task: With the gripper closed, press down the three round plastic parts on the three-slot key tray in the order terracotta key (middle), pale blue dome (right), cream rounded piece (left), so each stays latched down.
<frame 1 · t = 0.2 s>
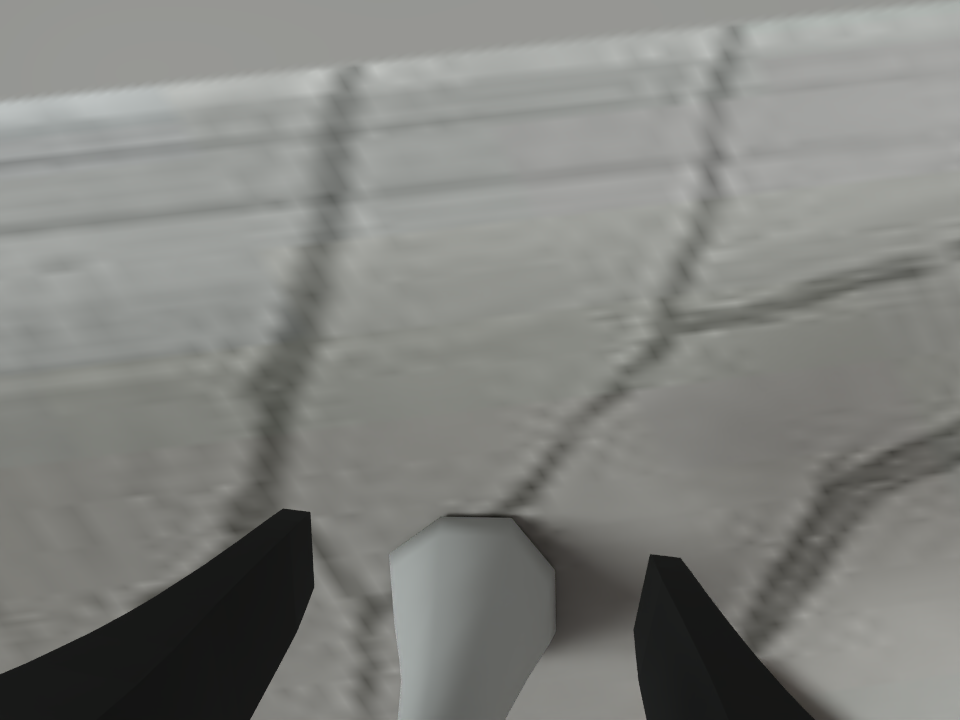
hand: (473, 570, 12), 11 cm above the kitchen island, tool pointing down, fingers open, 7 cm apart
flask: (473, 586, 24), on the kitchen island
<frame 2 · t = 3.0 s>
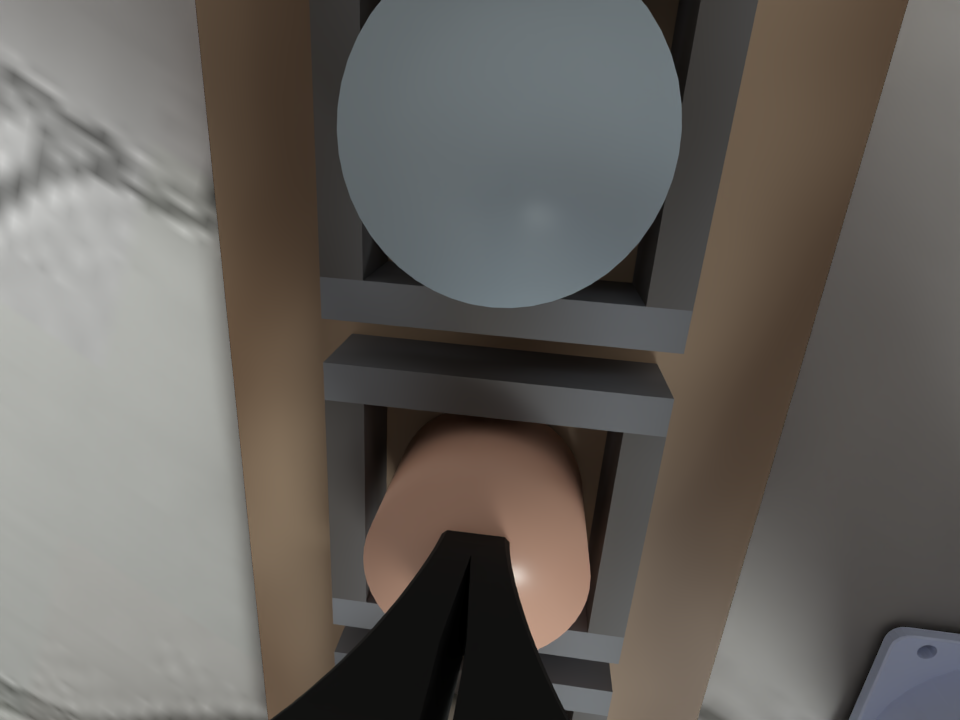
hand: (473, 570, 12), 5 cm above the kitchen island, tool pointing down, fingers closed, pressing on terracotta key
three-slot key tray: (494, 455, 16), on the kitchen island
pale blue dome: (510, 141, 9), point 4 cm above the kitchen island, slide at 0.0 cm
terracotta key: (482, 525, 13), point 3 cm above the kitchen island, slide at -1.0 cm, touching gripper
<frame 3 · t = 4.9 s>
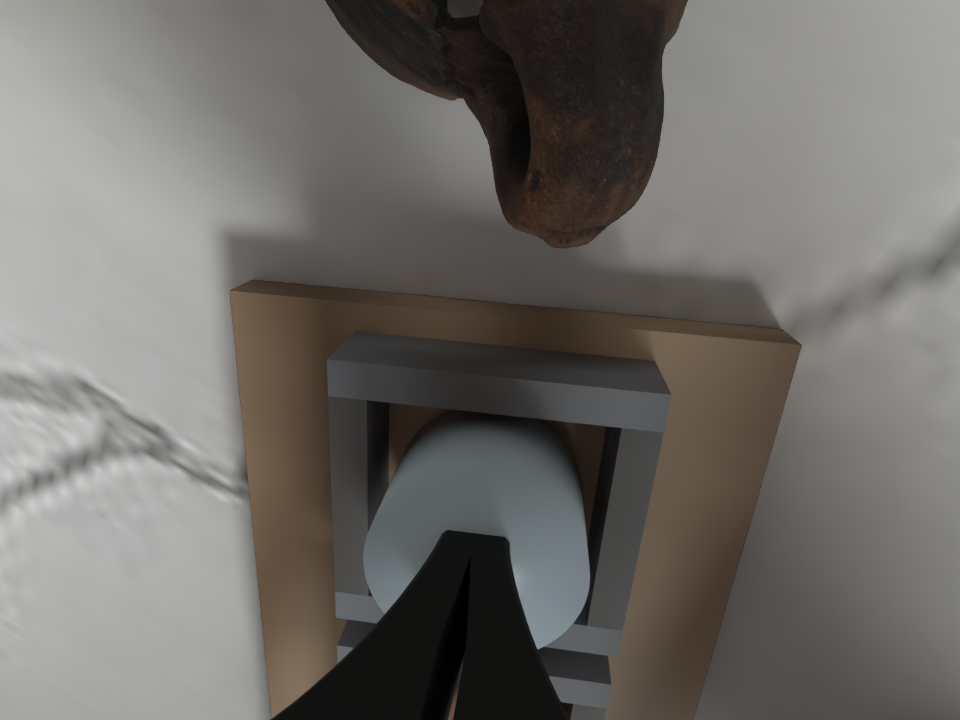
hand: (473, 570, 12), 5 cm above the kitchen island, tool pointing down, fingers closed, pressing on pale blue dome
three-slot key tray: (476, 665, 20), on the kitchen island
pale blue dome: (482, 526, 14), point 3 cm above the kitchen island, slide at -0.8 cm, touching gripper
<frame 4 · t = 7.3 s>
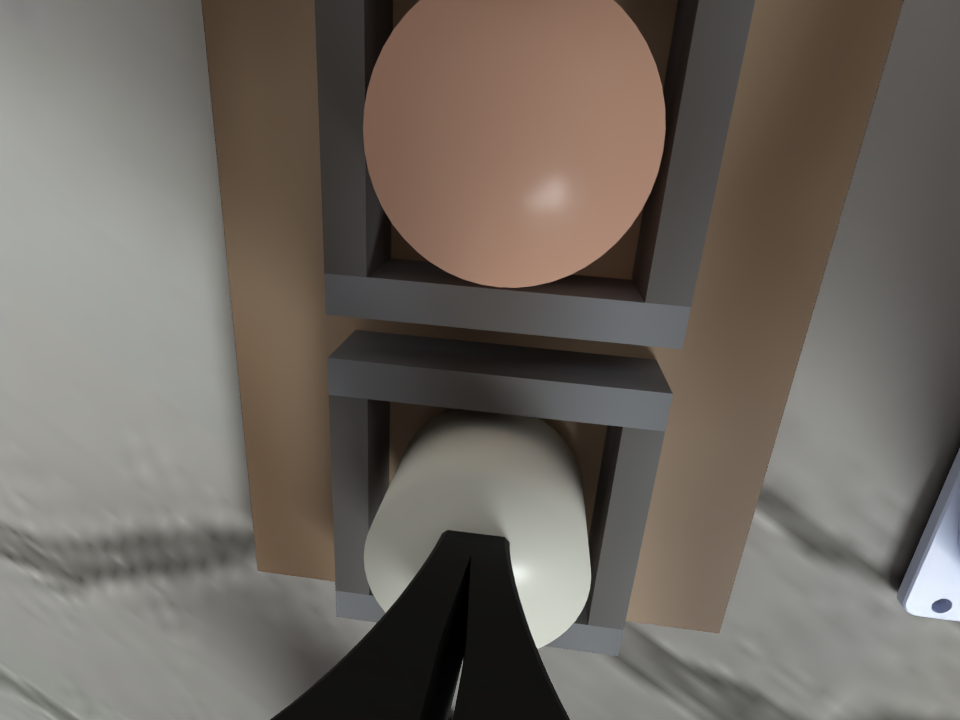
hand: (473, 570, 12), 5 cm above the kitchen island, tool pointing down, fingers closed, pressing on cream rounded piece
three-slot key tray: (522, 139, 14), on the kitchen island
cream rounded piece: (483, 525, 13), point 3 cm above the kitchen island, slide at -0.8 cm, touching gripper
terracotta key: (515, 140, 11), point 3 cm above the kitchen island, slide at -1.0 cm
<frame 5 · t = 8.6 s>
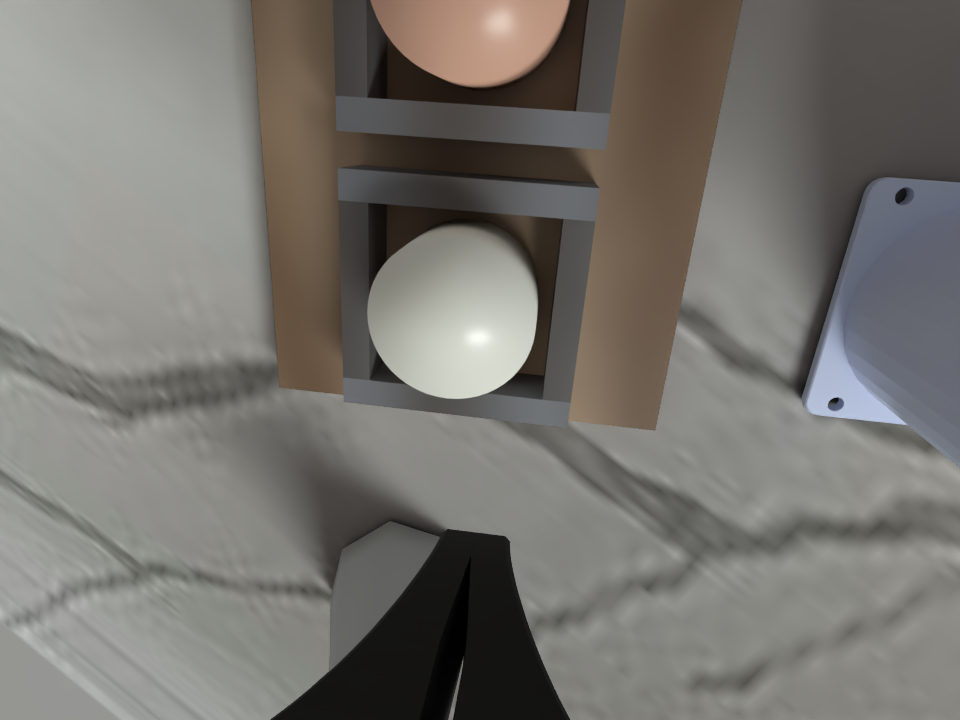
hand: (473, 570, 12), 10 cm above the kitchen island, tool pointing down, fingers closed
three-slot key tray: (490, 7, 17), on the kitchen island
cream rounded piece: (459, 305, 18), point 3 cm above the kitchen island, slide at -1.0 cm
flask: (412, 583, 26), on the kitchen island
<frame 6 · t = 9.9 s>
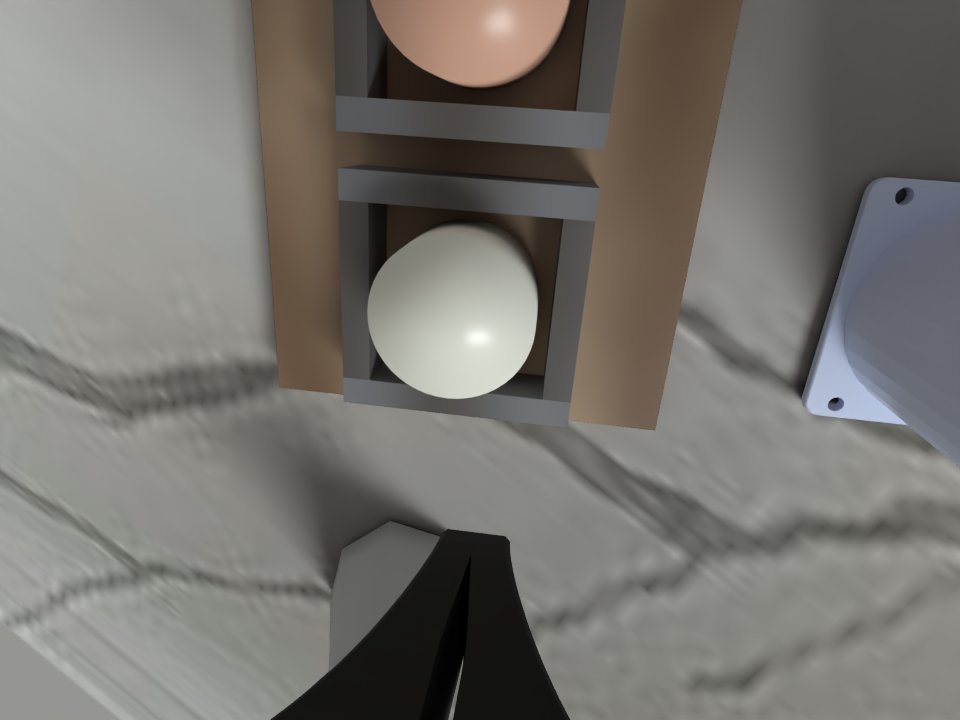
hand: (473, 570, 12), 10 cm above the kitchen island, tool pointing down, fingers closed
three-slot key tray: (490, 6, 17), on the kitchen island
cream rounded piece: (459, 305, 18), point 3 cm above the kitchen island, slide at -1.0 cm
flask: (412, 583, 26), on the kitchen island
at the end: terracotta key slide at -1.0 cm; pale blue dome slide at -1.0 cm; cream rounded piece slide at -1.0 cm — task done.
